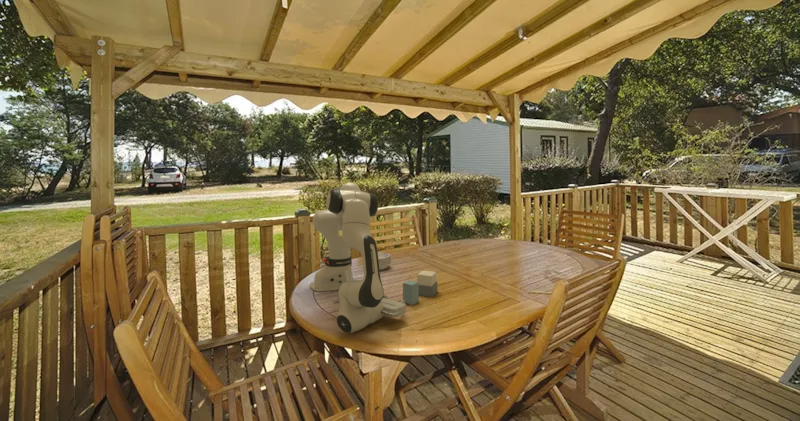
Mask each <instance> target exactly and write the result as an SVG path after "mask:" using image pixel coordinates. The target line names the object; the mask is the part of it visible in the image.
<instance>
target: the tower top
mask: <svg viewBox="0 0 800 421" xmlns="http://www.w3.org/2000/svg"><path fill="white" fill-rule="evenodd" d="M417 282H419V285H424V286H431V287H432V286H433V285H434V284H435V283H436V282H437V271H431V270H422V271H420V272H419V273H417Z"/></svg>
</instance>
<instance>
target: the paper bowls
mask: <svg viewBox="0 0 800 421" xmlns="http://www.w3.org/2000/svg"><path fill="white" fill-rule="evenodd" d="M378 261H379V270H380V271H382V270H385V269H386V270H387V268H388V265H390V264H391V263H392V256H391V254H390V253H388V252H378Z"/></svg>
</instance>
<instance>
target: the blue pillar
mask: <svg viewBox="0 0 800 421" xmlns="http://www.w3.org/2000/svg"><path fill="white" fill-rule="evenodd" d="M419 296H420V295H419V282H418V281H414V280H411V279H409V280H407V281H404V282H403V283H402V300H405V304H406V303H407V304H406V305H411V306H413V305H415V304H417V303H418V302H419Z"/></svg>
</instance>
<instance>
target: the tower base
mask: <svg viewBox="0 0 800 421" xmlns="http://www.w3.org/2000/svg"><path fill="white" fill-rule="evenodd" d="M437 292H438V281H436V283H435V284H434V285H433V286H432V287H431V286H424V285H419V296H421V297H430V298H433V297H434V296H435V295H436V294H437Z"/></svg>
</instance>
